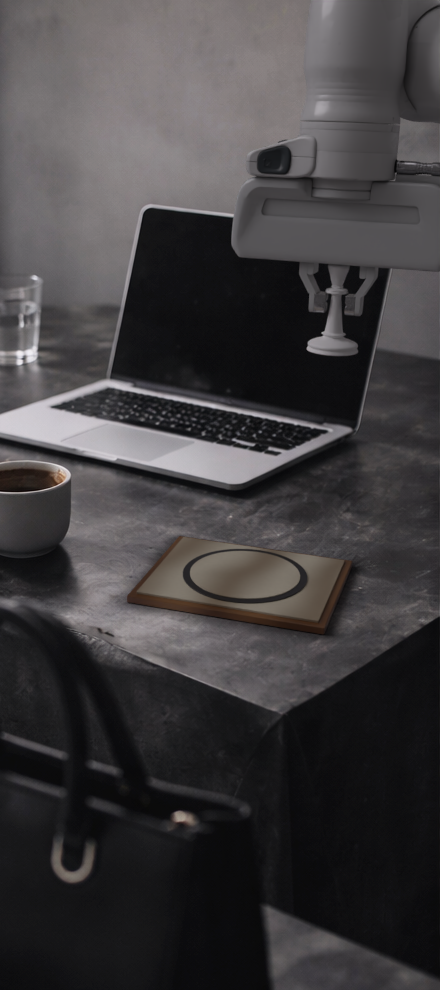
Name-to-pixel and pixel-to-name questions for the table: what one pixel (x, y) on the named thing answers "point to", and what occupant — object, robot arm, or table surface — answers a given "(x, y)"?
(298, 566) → the wooden board
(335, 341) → the chess piece
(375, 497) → the table surface
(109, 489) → the table surface
